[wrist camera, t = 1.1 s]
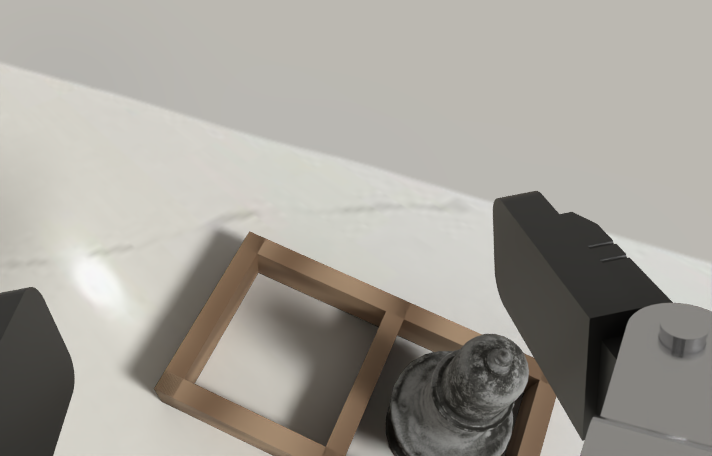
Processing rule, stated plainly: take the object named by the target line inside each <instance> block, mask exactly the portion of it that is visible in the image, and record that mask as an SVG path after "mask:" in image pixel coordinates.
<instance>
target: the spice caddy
mask: <svg viewBox="0 0 712 456" xmlns="http://www.w3.org/2000/svg"><path fill="white" fill-rule="evenodd" d="M258 273H260V274H263V275H265V276H267V277H269V278H271V279H274V280H276V281H278V282H280V283H283V284H285V285H287V286H289V287H291V288H294V289H296V290H298V291H300V292H303V293H305V294H307V295H309V296H311V297H314V298H316V299H318V300H320V301H322V302H325V303H327V304H329V305H331V306H334V307H336V308H338V309H340V310H342V311H345V312H347V313H349V314H351V315H353V316H356V317H358V318H360V319H362V320H365V321H367V322H369V323H371V324H373V325H376V326H378V327H379V328H378V331H377V333H376V335H375V337H374V340H373V342H372V344H371V346H370V349H369V351H368V353H367V355H366V358H365V360H364V362H363V364H362V366H361V369H360V371H359V373H358V375H357V378H356V380H355V382H354V384H353V387H352V389H351V391H350V393H349V396H348V398H347V400H346V402H345V405H344V407H343V409H342V411H341V414H340V416H339V418H338V420H337V423H336V425H335V427H334V429H333V431H332V434H331V436H330V438H329V440H328V443H327V445H326V447H325V446H323V445H321V444H319V443H317V442H315V441H313V440H311V439H309V438H306V437H304V436H302V435H300V434H298V433H296V432H294V431H292V430H290V429H288V428H286V427H283V426H281V425H279V424H277V423H275V422H273V421H271V420H269V419H267V418H265V417H263V416H260V415H258V414H256V413H254V412H252V411H250V410H248V409H246V408H244V407H242V406H240V405H237V404H235V403H233V402H231V401H229V400H227V399H225V398H223V397H221V396H219V395H216V394H214V393H212V392H210V391H208V390H206V389H204V388H202V387H200V386H198V385H196V384H194V383H195V382H196V380H197V378H198V377H199V375H200V373H201V371H202V370H203V368H204V366H205V364H206V363H207V361H208V359H209V357H210V356H211V354H212V352H213V351H214V349H215V347H216V345H217V344H218V342H219V340H220V338H221V337H222V335H223V333H224V331H225V330H226V328H227V326H228V325H229V323H230V321H231V319H232V318H233V316H234V314H235V312H236V311H237V309H238V307H239V305H240V304H241V302H242V300H243V299H244V297H245V295H246V293H247V292H248V290H249V288H250V286H251V285H252V283H253V281H254V279H255V278H256V276H257V274H258ZM397 335H398V336H400V337H402V338H404V339H407V340H409V341H411V342H413V343H416V344H418V345H420V346H422V347H424V348H427V349H429V350H431V351H433V352H437V351H455V350H459V349H461V347H462V346H463V345H464V344H465V343H466V342H467V341H469V340H471V339H473V338H474V337H477V336H480V335H481V334H479V333H477V332H475V331H472V330H470V329H468V328H466V327H463V326H461V325H459V324H457V323H454V322H452V321H450V320H448V319H445V318H443V317H441V316H439V315H436V314H434V313H432V312H430V311H427V310H425V309H423V308H421V307H418V306H416V305H414V304H412V303H409V302H407V301H405V300H403V299H400V298H398V297H396V296H394V295H391V294H389V293H387V292H385V291H382V290H380V289H378V288H376V287H373V286H371V285H369V284H367V283H364V282H362V281H360V280H358V279H355V278H353V277H351V276H349V275H346V274H344V273H342V272H340V271H337V270H335V269H333V268H331V267H328V266H326V265H324V264H322V263H319V262H317V261H315V260H313V259H310V258H308V257H306V256H304V255H301V254H299V253H297V252H295V251H292V250H290V249H288V248H286V247H283V246H281V245H279V244H277V243H274V242H272V241H270V240H268V239H265V238H263V237H261V236H259V235H256V234H254V233H252V232H250V231H249V233H248V235H247V236H246V238H245V240H244V241H243V243H242V245H241V246H240V248H239V250H238V251H237V253H236V255H235V256H234V258H233V259H232V261H231V263H230V264H229V266H228V268H227V269H226V271H225V273H224V274H223V276H222V278H221V279H220V281H219V283H218V284H217V286H216V287H215V289H214V291H213V292H212V294H211V296H210V297H209V299H208V301H207V302H206V304H205V306H204V307H203V309H202V311H201V312H200V314H199V315H198V317H197V319H196V320H195V322H194V324H193V325H192V327H191V329H190V330H189V332H188V334H187V335H186V337H185V339H184V340H183V342H182V344H181V345H180V347H179V348H178V350H177V352H176V353H175V355H174V357H173V358H172V360H171V362H170V363H169V365H168V367H167V368H166V370H165V372H164V373H163V375H162V376H161V378H160V380H159V381H158V383H157V385H156V386H155V388H154V390H155V391H156V393H157V395H158V396H159V398H160V400H161V401H162V402H164V403H166V404H168V405H170V406H172V407H174V408H176V409H178V410H180V411H182V412H184V413H186V414H188V415H190V416H192V417H195V418H197V419H199V420H201V421H203V422H205V423H207V424H209V425H211V426H213V427H215V428H217V429H219V430H221V431H223V432H226V433H228V434H230V435H232V436H234V437H236V438H238V439H240V440H242V441H244V442H246V443H248V444H250V445H252V446H254V447H257V448H259V449H261V450H263V451H265V452H267V453H269V454H271V455H273V456H345V455H346V453H347V451H348V448H349V446H350V444H351V441H352V439H353V437H354V434H355V432H356V430H357V427H358V425H359V423H360V420H361V418H362V416H363V413H364V411H365V409H366V406H367V404H368V402H369V399H370V397H371V395H372V392H373V390H374V388H375V385H376V383H377V381H378V378H379V376H380V374H381V371H382V369H383V367H384V364H385V362H386V360H387V357H388V355H389V353H390V350H391V348H392V346H393V343H394V341H395V339H396V336H397ZM524 355H525V357H526V360H527V362H528V368H529V376H528V382H527V384H526V387H525V389H524V391H523V392H524V395H523V399H522V402H521V405H520V408H519V412H518V415H517V418H516V422H515V425H514V428H513V431H512V435H511V438H510V441H509V445H508V448H507V451H506V454H505V456H540V453H541V449H542V446H543V442H544V439H545V435H546V431H547V428H548V424H549V421H550V417H551V413H552V410H553V406H554V403H555V399H556V395H555V393H554V391H553V389H552V388H551V386H550V384H549V382H548V381H547V379H546V377H545V376H544V374H543V372H542V370H541V369H540V367H539V365H538V364H537V362H536V360H535V358H533V357H531V356H529V355H526V354H524Z"/></svg>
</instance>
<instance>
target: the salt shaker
mask: <svg viewBox="0 0 712 456" xmlns="http://www.w3.org/2000/svg"><path fill="white" fill-rule="evenodd" d="M528 376H529V368H528V362H527V360H526V357H525V355H524V353H523V352H522V350H521V349H520V348H519V347H518V346H517V345H516V344H515V343H514V342H513V341H511V340H510V339H508V338H506V337H504V336H500V335H497V334H484V335H480V336H477V337H474V338H473V339H471V340H469V341H467V342H466V343H465V344H464V345H463V346H462V347H461V349H459V350H455V351H437V352H433V353H429V354H425V355H423V356H421V357H420V358H418V359H416V360H414V361H413V362H411V363H410V364H409V365H408V366H407V367H406V368H405V369H404V371H403V372H402V373H401V374H400V376H399V378H398V380H397V382H396V384H395V385H394V388H393V392H392V397H391V401H390V406H389V408H388V413H387V417H386V434H387V438H388V441H389V445H390V448H391V449H392V451H393V453H394V454H395V456H501V455H502V454H503V452H504V451H505V449H506V447H507V444H508V442H509V440H510V437H511V433H512V425H513V414H512V409H513V406H514V401H515V400H516V399H517V398H518V397H519V396H520V395H521V394H522V393H523V391H524V389H525V387H526V384H527V382H528Z"/></svg>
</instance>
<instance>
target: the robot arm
mask: <svg viewBox="0 0 712 456" xmlns="http://www.w3.org/2000/svg"><path fill="white" fill-rule="evenodd" d="M493 231H494V263H495V278H496V284H497V288H498V292H499V295H500V298H501V300H502V303H503V305H504V307H505V308H506V310H507V312H508V314H509V315H510V317H511V319H512V321H513V322H514V324H515V326H516V327H517V329H518V331H519V333H520V334H521V336H522V338H523V339H524V341H525V343H526V345H527V346H528V348H529V350H530V351H531V353H532V355H533V357H534V358H535V360H536V362H537V364H538V365H539V367H540V369H541V370H542V372H543V374H544V376H545V377H546V379H547V381H548V382H549V384H550V386H551V388H552V389H553V391H554V393H555V395H556V396H557V398H558V400H559V401H560V403H561V405H562V407H563V408H564V410H565V412H566V413H567V415H568V417H569V419H570V420H571V422H572V424H573V425H574V427H575V429H576V431H577V432H578V434H579V436H580V438H581V439H582V441H583V440H585V441H584V445H583V448H582V451H581V455H580V456H712V312H711V311H709V310H707V309H704V308H701V307H698V306H693V305H689V304H681V303H673V302H672V301H671V300H670V299H669V298H668V297H667V296H666V295H665V294H664V293H663V292H662V291H661V290H660V289H659V288H658V287H657V286H656V285H655V284H654V283H653V282H652V280H651V279H650V278H649V277H648V276H647V275H646V274H645V273H644V272H643V271H642V270H641V269H640V268H639V267H638V266H637V265H636V264H635V263H634V262H633V261H632V260H631V259H630V258H627V257H626V253H625V252H624V251H623V250H622V249H621V248H620V247H619V246H618V245H617V244H614V243H613V240H612V239H611V238H610V237H609V236H608V235H607V234H606V233H605V232H604V231H603V230H602V229H601V227H600V226H599V225H598V224H596V223H594V222H592V221H590V220H588V219H586V218H584V217H581V216H579V215H577V214H575V213H573V212H569V213H564V214H559V213H558V212H557V211H556V210H555V209H554V208H553V207H552V205H551V204H550V203H549V202H548V201H547V200H546V199H545V198H544V196H543V195H542V194H541V193H540V192H538V191H533V192H528V193H523V194H518V195H512V196H507V197H502V198H497V199H495V201H494V205H493ZM73 390H74V368H73V363H72V360H71V357H70V354H69V352H68V350H67V348H66V345H65V343H64V341H63V339H62V337H61V335H60V332H59V330H58V328H57V326H56V324H55V322H54V320H53V317H52V315H51V313H50V311H49V309H48V307H47V305H46V302H45V300H44V298H43V296H42V295H41V293H40V292H39V291H38V290H37V289H36V288H33V287H29V288H24V289H18V290H13V291H8V292H3V293H0V456H53V454H54V451H55V448H56V444H57V441H58V438H59V435H60V432H61V429H62V425H63V422H64V419H65V416H66V413H67V410H68V406H69V403H70V400H71V397H72V394H73Z"/></svg>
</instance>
